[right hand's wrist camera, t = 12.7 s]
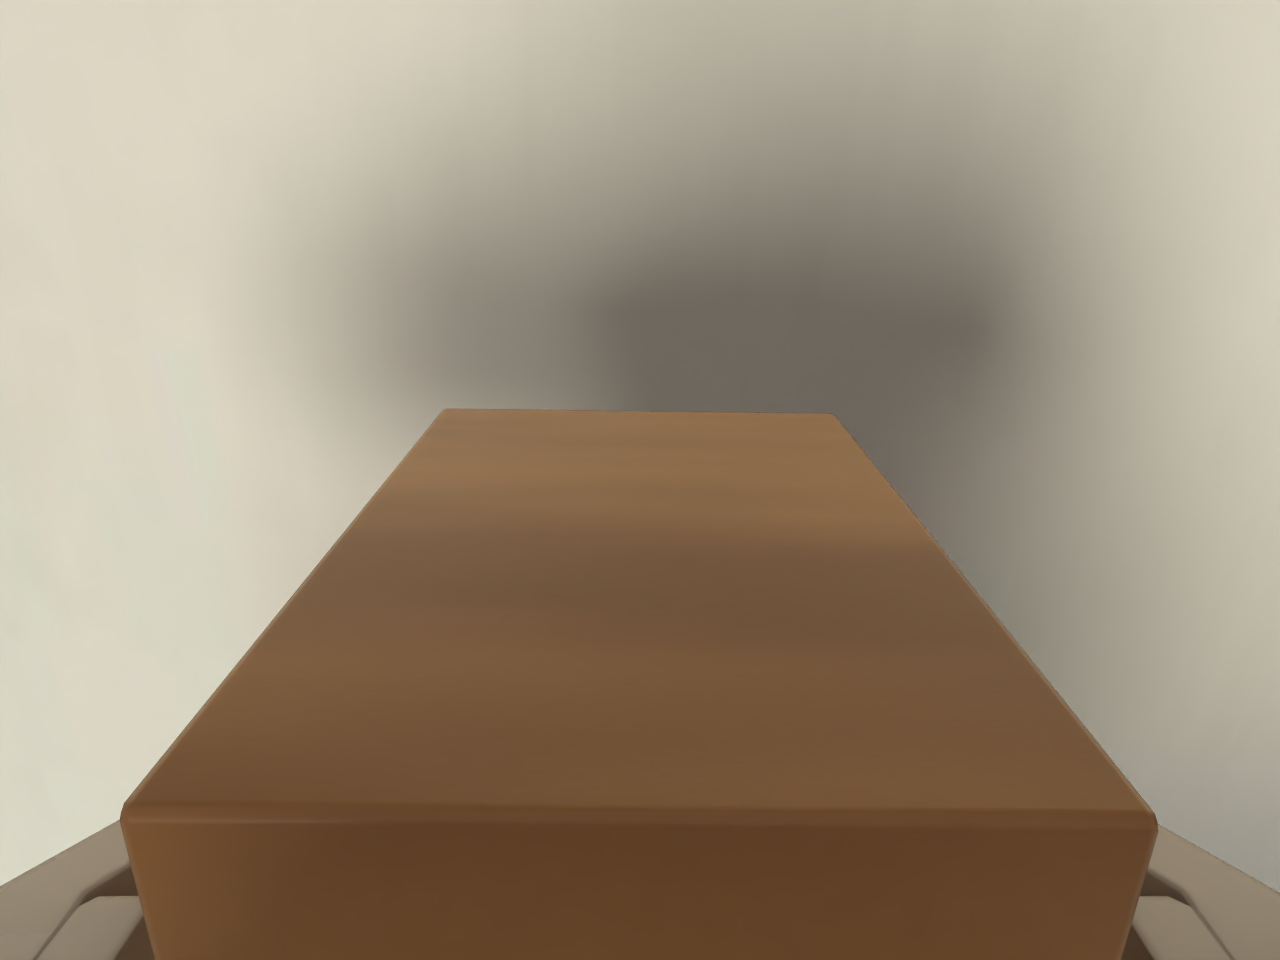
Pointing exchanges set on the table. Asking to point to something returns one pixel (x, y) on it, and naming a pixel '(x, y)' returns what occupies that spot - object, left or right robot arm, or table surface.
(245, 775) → the bar
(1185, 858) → the right robot arm
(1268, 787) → the table surface
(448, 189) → the table surface
